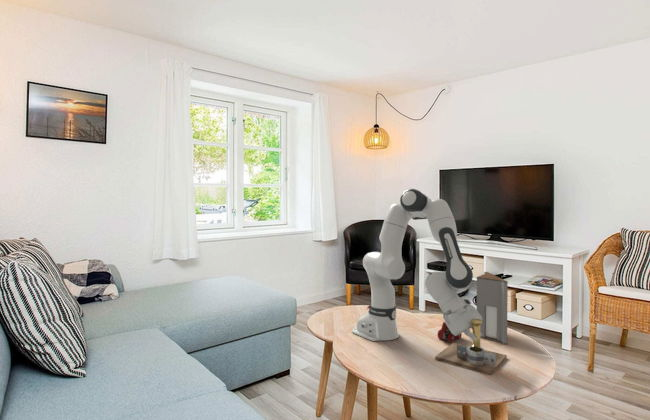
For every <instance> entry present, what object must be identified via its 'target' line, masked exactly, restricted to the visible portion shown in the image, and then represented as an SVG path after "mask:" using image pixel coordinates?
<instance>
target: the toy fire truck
mask: <svg viewBox="0 0 650 420" xmlns="http://www.w3.org/2000/svg"><path fill="white" fill-rule="evenodd" d="M462 334H463V332H462V333H460V334H459V335H457V336H455V335H453V334H452V333H451V331H450V330H449V328H448V327H447V325H446V323H445V321H443V322H442V325H441V329H439V330H438V331H437V338H438V339H440V340H447V341H448V342H449V343H454V342H455V339H456V340H460V339H461V338H462Z"/></svg>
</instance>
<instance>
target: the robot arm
mask: <svg viewBox="0 0 650 420" xmlns="http://www.w3.org/2000/svg"><path fill="white" fill-rule="evenodd" d="M399 202H400V203H399ZM399 202H398V203H396V202H395V203H393V204H391V205H390V207H389V208H388V211H387V213H386V215H385V218H384V219H383V222H382V227H381V231H380V234H379V242H380V245H381V246H380V248H381V249H380V251H371V252H367V253H366V254H365V255H364V257H363V258H362V266H363V268H364V270H365V271H366V274H367V277H368V281H369V285H370V292H371V296H370V297H371V304H369V305H368V306H367V307H366V310H368V312H367V313H364V315H362V316H361V317H360V318H358V320H357V323H356V326H355V327H354V328H352V330H351V333H352V334H355V335H356V336H359V337H362V338H364V339H367V340H369V341H370V342H371V341H372V342H377V341H392V340H396V339H397V338H399V337H400V334H399V332H398V326H397V320H396V318H397V306H396V290H395V287H394V285H393V284H392V281H391V280H399V279H401V278H402V277H403V276H404V274H405V272H406V265H405V262H404V260H403V256H402V253H403V252H402V248H403V247H402V246H403V241H404V238H405V234H406V232H407V228H408V224H409V222H410V220H411V219H412V220H415V221H416V220H417V221H418V220H427V222H428V226H429V229H430V233H431V234H432V237H433V238H434V240H435V241H437V242H438V243H439V244H440V246H441V248H442V252H443V254H444V258H445V261H446V268H445V271H433V272H431V273H430V274H429V275H428V276H427V278H426V279H425V280H424V281H425V282H424V286H425V289H426V291H427V292H428V293H429V296H430V297H431V298H432V299H433V301H435V302H436V303H437V304H438V306H439V308H440V310H441V311H442V313H443V314H442V318H443V320H444V322H445V323H446V325H447V327H448V328H449V330H450V331H451V333H452V334H453V335H455V336H457V335H459V334H460V333H462V334H463V333H464V335H465V336H467V337H469V338H470V340H471V341H472V342H473V341H474V340H476V339H477V336H476V335H475V334H473V332H472V331H473V324H472V323H471V319H480V320H483V319H482V316H481V315H480V314H479V312H478V311H477V308H476V307H475V306H474V305H472V302H471V300H470V299H468V298H461V297H460V296H459V295H458V294H461V293H462V292H465V291H467V290H468V289H469V288H470V286H471V285H472V281H473V278H474V273H473V270H472V268H471V267H470V265H469V264H468V263H467V262H466V261H465V260H464V258H463V256H462V253H461V250H460V247H459V243H458V240H457V236H458V229H457V225H456V220H455V218H454V214H453V212H452V210H451V207H450V206H449V204H448V202H447V201H446V200H444V199H442V198H435V199H431V198H430V197H429V196H428V195H426V194H424V193H423V192H421V191H420V190H419V189H415V188H408V189H406V190H404V191H403V192H402V194H401V195H400V199H399ZM470 329H472V331H471V330H470ZM481 336H482V334H481V332H480V338H481Z"/></svg>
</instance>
